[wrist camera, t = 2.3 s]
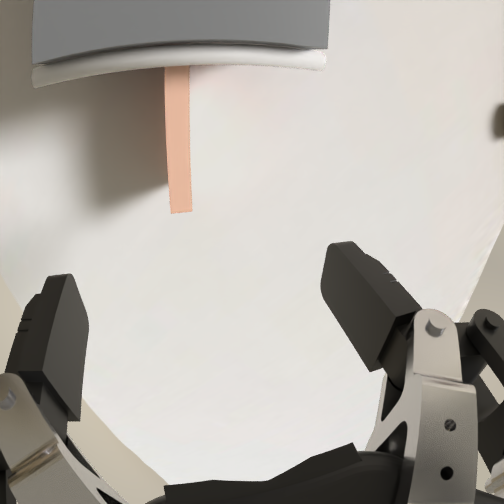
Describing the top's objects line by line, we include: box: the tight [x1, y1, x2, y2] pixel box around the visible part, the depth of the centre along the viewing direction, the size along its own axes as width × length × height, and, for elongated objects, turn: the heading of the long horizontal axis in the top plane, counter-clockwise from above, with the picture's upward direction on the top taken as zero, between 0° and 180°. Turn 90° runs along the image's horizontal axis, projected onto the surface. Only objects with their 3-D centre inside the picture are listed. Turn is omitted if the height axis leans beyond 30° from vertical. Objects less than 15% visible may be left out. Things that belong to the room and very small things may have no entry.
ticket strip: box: [165, 44, 192, 214], centre depth 13 cm, size 23×1×5 cm, turn 178°
